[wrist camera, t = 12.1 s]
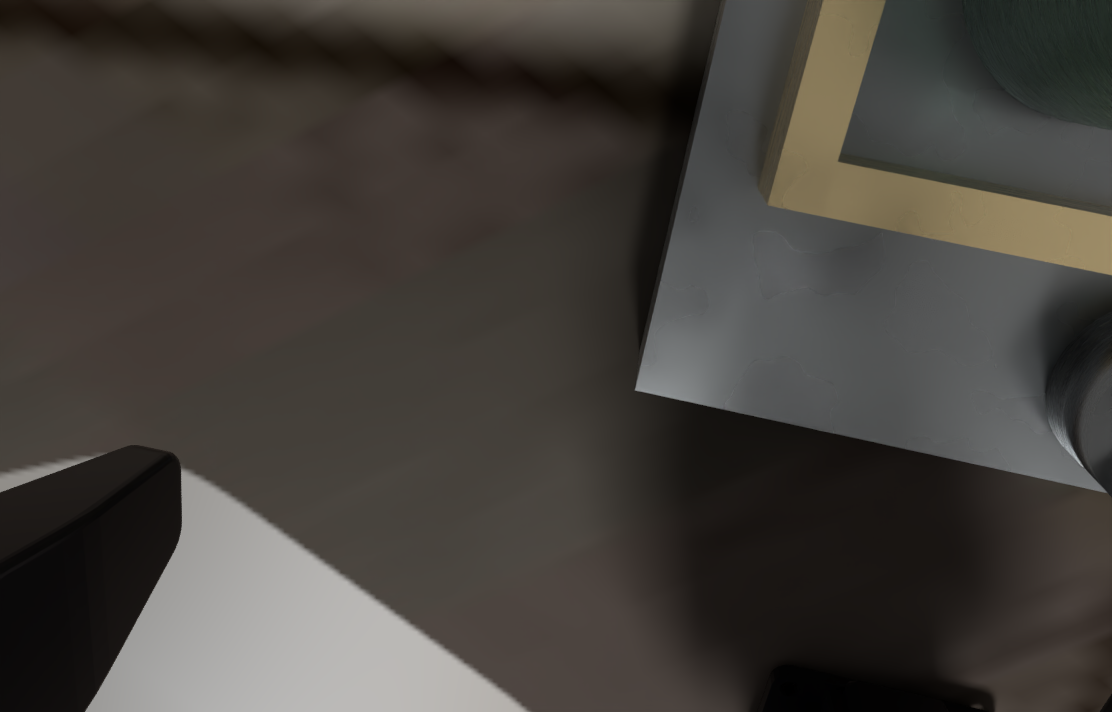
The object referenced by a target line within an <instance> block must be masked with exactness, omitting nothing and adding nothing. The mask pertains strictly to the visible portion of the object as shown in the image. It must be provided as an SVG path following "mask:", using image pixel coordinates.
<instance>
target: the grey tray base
mask: <svg viewBox="0 0 1112 712" xmlns="http://www.w3.org/2000/svg"><path fill="white" fill-rule="evenodd" d="M635 390H636V391H641V392H646V393H650V394H655V395H659V396H664V397H669V398H673V399H678V400H682V401H687V402H692V403H696V404H701V405H705V406H710V407H715V408H719V409H724V410H728V411H733V412H738V413H742V414H747V415H751V416H756V417H760V418H765V419H770V420H774V421H779V422H783V423H788V424H793V425H797V426H802V427H806V428H811V429H816V430H820V431H825V432H829V433H834V434H839V435H843V436H848V437H852V438H857V439H862V440H866V441H871V442H875V443H880V444H885V445H889V446H894V447H898V448H903V449H908V450H912V451H917V452H921V453H926V454H931V455H935V456H940V457H944V458H949V459H954V460H958V461H963V462H967V463H972V464H977V465H981V466H986V467H990V468H995V469H1000V470H1004V471H1009V472H1013V473H1018V474H1023V475H1027V476H1032V477H1036V478H1041V479H1046V480H1050V481H1055V482H1059V483H1064V484H1069V485H1073V486H1078V487H1082V488H1087V489H1092V490H1096V491H1101V492H1105V493H1108V494H1109V495H1110V496H1111V497H1112V130H1107V129H1102V128H1097V127H1092V126H1087V125H1082V124H1077V123H1072V122H1067V121H1063V120H1060V119H1057V118H1054V117H1051V116H1047V115H1045V114H1043V113H1041V112H1039V111H1036V110H1034V109H1032V108H1030V107H1028V106H1027V105H1025V104H1024V103H1022V102H1021V101H1019V100H1018V99H1016V98H1015V97H1013V96H1012V95H1011V94H1010V93H1009V92H1007V91H1006V90H1005V89H1004V88H1003V87H1002V86H1001V85H1000V84H999V83H998V82H997V81H996V80H995V79H994V77H993V76H992V75H991V73H990V72H989V71H988V70H987V68H986V67H985V66H984V64H983V62H982V60H981V59H980V57H979V55H978V53H977V52H976V50H975V48H974V45H973V43H972V40H971V37H970V35H969V32H968V29H967V26H966V21H965V17H964V12H963V7H962V0H721V2H720V6H719V10H718V15H717V19H716V23H715V28H714V32H713V36H712V41H711V45H710V49H709V54H708V58H707V62H706V66H705V71H704V75H703V79H702V84H701V88H700V92H699V97H698V101H697V105H696V110H695V114H694V118H693V123H692V127H691V131H690V135H689V140H688V144H687V148H686V153H685V157H684V161H683V166H682V170H681V174H680V179H679V183H678V187H677V191H676V196H675V200H674V204H673V209H672V213H671V217H670V222H669V226H668V230H667V235H666V239H665V243H664V247H663V252H662V256H661V260H660V265H659V269H658V273H657V278H656V282H655V286H654V291H653V295H652V299H651V304H650V308H649V312H648V316H647V321H646V325H645V329H644V334H643V338H642V342H641V347H640V351H639V358H638V367H637V376H636V385H635Z"/></svg>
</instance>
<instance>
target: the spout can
mask: <svg viewBox="0 0 1112 712" xmlns="http://www.w3.org/2000/svg"><path fill="white" fill-rule="evenodd" d="M962 7H963V12H964V17H965V21H966V26H967V29H968V32H969V35H970V37H971V40H972V43H973V45H974V48H975V50H976V52H977V53H978V55H979V57H980V59H981V60H982V62H983V64H984V66H985V67H986V68H987V70H988V71H989V72H990V73H991V75H992V76H993V77H994V79H995V80H996V81H997V82H998V83H999V84H1000V85H1001V86H1002V87H1003V88H1004V89H1005V90H1006V91H1007V92H1009V93H1010V94H1011V95H1012V96H1013V97H1015V98H1016V99H1018V100H1019V101H1021V102H1022V103H1024V104H1025V105H1027V106H1028V107H1030V108H1032V109H1034V110H1036V111H1039V112H1041V113H1043V114H1045V115H1047V116H1051V117H1054V118H1057V119H1060V120H1063V121H1067V122H1072V123H1077V124H1082V125H1087V126H1092V127H1097V128H1102V129H1107V130H1112V0H962Z"/></svg>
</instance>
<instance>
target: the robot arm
mask: <svg viewBox="0 0 1112 712" xmlns="http://www.w3.org/2000/svg"><path fill="white" fill-rule="evenodd" d="M181 527H182V503H181V466H180V462H179V459H178V458H177V457H176V456H175V455H174V454H173V453H171V452H168V451H163V450H158V449H153V448H149V447H144V446H138V445H130V446H127V447H124V448H121V449H118V450H115V451H113V452H110V453H107V454H104V455H102V456H99V457H96V458H94V459H91V460H88V461H85V462H83V463H80V464H77V465H75V466H72V467H69V468H66V469H63V470H61V471H58V472H56V473H53V474H50V475H47V476H44V477H42V478H39V479H36V480H33V481H31V482H28V483H25V484H22V485H20V486H17V487H14V488H11V489H9V490H6V491H3V492H1V493H0V712H85V711H86V709H87V708H88V706H89V704H90V703H91V701H92V700H93V698H94V697H95V695H96V694H97V692H98V690H99V688H100V687H101V685H102V683H103V681H104V679H105V678H106V676H107V675H108V673H109V671H110V669H111V667H112V666H113V664H114V662H115V660H116V658H117V656H118V654H119V653H120V651H121V649H122V647H123V645H124V643H125V641H126V640H127V638H128V636H129V634H130V632H131V630H132V629H133V627H134V625H135V623H136V621H137V619H138V617H139V616H140V614H141V612H142V610H143V608H144V606H145V604H146V603H147V601H148V599H149V597H150V595H151V593H152V591H153V589H154V588H155V586H156V584H157V582H158V580H159V578H160V577H161V575H162V573H163V571H164V569H165V567H166V566H167V564H168V562H169V560H170V558H171V556H172V554H173V553H174V550H175V548H176V546H177V543H178V541H179V537H180V533H181ZM785 682H793V683H794V685H791V686H784V685H782V684H783V683H785ZM757 712H987V711H984V710H980V709H976V708H971V707H967V706H963V705H959V704H954V703H950V702H946V701H942V700H938V699H934V698H929V697H925V696H921V695H917V694H912V693H908V692H904V691H900V690H895V689H891V688H887V687H882V686H878V685H874V684H870V683H865V682H861V681H856V680H852V679H847V678H843V677H839V676H835V675H830V674H826V673H822V672H817V671H813V670H809V669H805V668H800V667H796V666H791V665H783V666H779V667H777V668H776V669H774V670H773V671H772V673H771V674H770V677H769V680H768V683H767V685H766V688H765V691H764V694H763V697H762V700H761V703H760V706H759V708H758V711H757ZM1100 712H1112V694H1111V696H1110V697H1109V699H1108V700H1107V702H1106V703H1105V705H1104V706H1103V708H1102V709H1101V711H1100Z"/></svg>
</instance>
